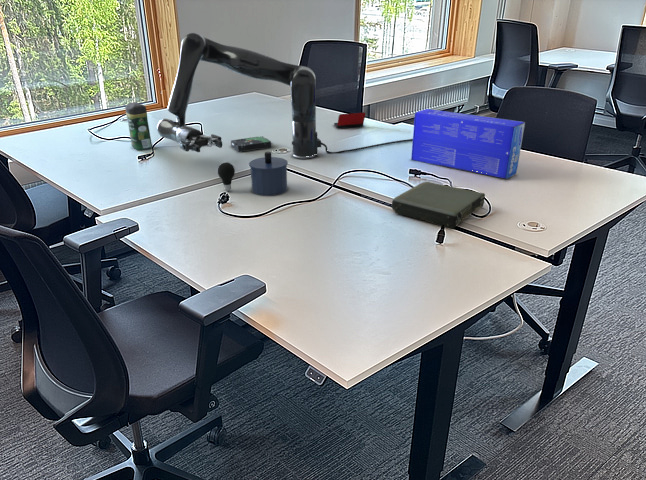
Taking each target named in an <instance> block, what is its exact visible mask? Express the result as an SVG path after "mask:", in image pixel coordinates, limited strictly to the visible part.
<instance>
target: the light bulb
mask: <svg viewBox="0 0 646 480" xmlns="http://www.w3.org/2000/svg"><path fill="white" fill-rule="evenodd" d="M217 175H218V177H219V178H220V179H221V181H222V184H223V189H224V190H225V191H226V192H230V191H231V189H232V183H233V182H232V180H233V177H235V175H236V169H235V166H234V165H233V164H231V163H230V162H228V161H227V162H222V163H220V164H219V166H218V167H217Z"/></svg>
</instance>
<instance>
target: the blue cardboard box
mask: <svg viewBox="0 0 646 480" xmlns="http://www.w3.org/2000/svg"><path fill="white" fill-rule="evenodd" d="M525 127H526V122H525V121H519V120H512V119H506V118H498V117H490V116H484V115H477V114H476V115H475V114H468V113H460V112H453V111H445V110H439V109H432V108H431V109H430V108H424V109H422V110H418V111H416V112H414V118H413V133H412V135H413V136H412V139H413V141H412V145H411V158H410V159H411V161H412V162H413V161H414V162H419V163H423V164H429V165H433V166H434V165H435V166H439V167H444V168H449V169H454V170H460V171H463V172H469V173H475V174H479V175H480V174H482V175H485V176H490V177H494V178H495V177H497V178H501V179H504V180H508V179H510V178H511V177H513V176H515V175H516V174H517V171H518V167H519V161H520V155H521V150H522V143H523V137H524V131H525ZM472 170H473V171H472ZM476 171H478V172H476ZM481 172H482V173H481ZM486 173H487V174H486Z"/></svg>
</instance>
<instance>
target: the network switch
mask: <svg viewBox="0 0 646 480" xmlns="http://www.w3.org/2000/svg"><path fill="white" fill-rule="evenodd" d="M485 198H486V194H485V193H484V192H480V191H474V190H470V189H464V188H460V187H455V186H449V185H445V184H439V183H435V182H431V181H423V182H421V183H419V184H417V185H415V186H413V187H411V188H409V189H408V190H406V191H404V192H402V193H401V194H399V195H397V196H395V197H394V198H393V199H392V201H391V209H392V211H394V213H395V214H397V215H400V216H403V217H408V218H411V219H412V218H413V219H416V220H418V221H419V220H420V221H423V222H428V223H431V224H434V225H437V226H441V227H442V228H443V227H444V228H446V229H450V230H453V229H455V228H456V227H457V226H458V225H459V224H461V223H462V222H463V221H465V220H466V219H467V218H468V217H469V216H471V215H472V214H473V213H475V212H477V211H478V210H479V209H480V208H482V207H484V204H485ZM470 214H471V215H470ZM443 223H444V224H443ZM443 225H444V226H443Z"/></svg>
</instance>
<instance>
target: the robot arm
mask: <svg viewBox="0 0 646 480" xmlns="http://www.w3.org/2000/svg"><path fill="white" fill-rule="evenodd" d="M200 62H206V63H211V64H214V65H218V66H220V67H222V68H225V69H227V70H229V71H231V72H233V73H235V74H239V75H241V76H244V77H248V78H251V79H255V80H260V81H261V80H262V81H271V82H278V83H281V84H284V85H286V86H289V87H290V101H291V102H290V103H291V104H290V105H291V125H292V126H291V127H292V128H291V129H292V133H291V134H292V141H291V145H292V157H293V158H295V159H299V160H307V159H313V158H316V157H318V148H322V146H323V147H324V149H325V152H326V153H327V154H342V153H349V152H354V151H360V150H361V151H362V150H366V149H370V148H377V147H381V146H387V145H391V144H398V143H405V142H413V138H409V139H400V140H394V141H388V142H382V143H378V144H372V145H367V146H361V147H356V148H351V149H344V150H338V151H333V152H332V151H330V150H328V146H327V145H326V144H325V143H324V142H322V140H321V139H320V138H319V137H318V132H317V117H316V116H317V114H316V113H317V109H316V108H317V99H316V98H317V97H316V95H317V94H316V93H317V92H316V89H317V87H316V84H317V83H316V82H317V81H316V79H317V78H316V75H315V72H314V71H313V69H311V68H310V67H308V66H304V65H298V64H292V63H289V62H284V61H281V60H278V59H276V58H273V57H271V56H269V55H266V54H263V53H261V52H257V51H254V50H252V49H248V48H244V47H240V46H233V45H228V44H222V43H220V42H217V41H214V40H212V39H210V38H207V37H205V36H204V35H201V34H200V33H196V32H188V33H187V34H185V35H184V36H183V38H182V40H181V43H180V54H179V62H178V68H177V71H176V72H177V73H176V77H175V80H174V84H173V86H172V90H171V93H170V97H169V100H168V105H167V111H168V113H170V114H172V115H174V117H175V120H173V119H170V118H162V119H160V120H158V122H157V126H156V130H157V133H158V135H159V136H160V137H162V138H164V139H168V140H171V141H174V142H175V143H177V144H179V146H180V147H179V148H180V149H181V150H182V151H184V152H190V151H191V152H196V153H201V148H207V147H209V148H211V147H217V148H219V149H221V148H223V141H222V136H219V135H217V134H214V133H213V134H211V135H210V136H208V135H204V134H203V132H201V130H199V129H197V128H194V127H191V126H188V125H186V116H187V115H186V114H187V109H188V107H189V103H190V100H191V99H190V98H191V95H192V89H193V82H194V77H195V73H196V72H197V71H196V70H197V68H198V65H199V64H200ZM327 150H328V151H327ZM314 154H317V155H314ZM312 155H313V156H312ZM306 156H309V157H306Z"/></svg>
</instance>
